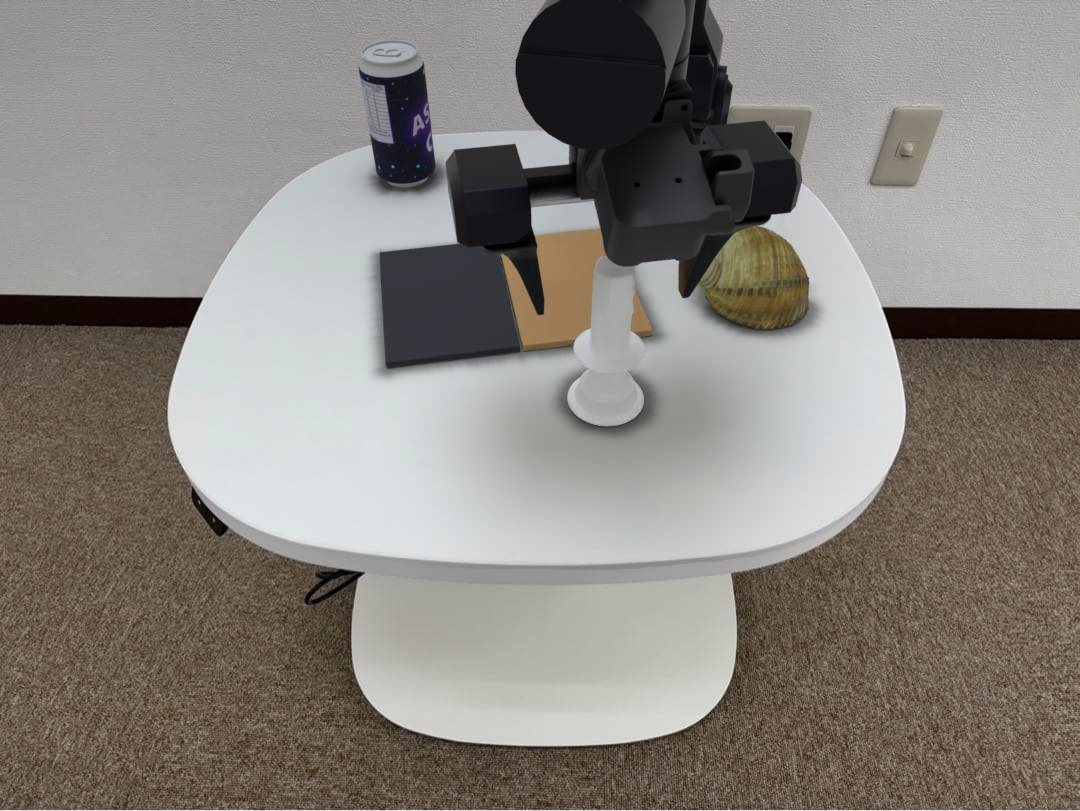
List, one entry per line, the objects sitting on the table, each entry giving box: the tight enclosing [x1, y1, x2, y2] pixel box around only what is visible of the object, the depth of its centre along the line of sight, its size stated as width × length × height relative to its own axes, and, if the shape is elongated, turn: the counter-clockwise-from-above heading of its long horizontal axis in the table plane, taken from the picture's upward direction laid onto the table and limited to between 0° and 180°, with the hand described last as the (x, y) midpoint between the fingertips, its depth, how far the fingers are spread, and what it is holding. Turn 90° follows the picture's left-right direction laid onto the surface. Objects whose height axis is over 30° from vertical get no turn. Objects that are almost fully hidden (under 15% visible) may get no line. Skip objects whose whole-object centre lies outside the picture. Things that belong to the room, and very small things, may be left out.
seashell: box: [698, 225, 810, 331], centre depth 62 cm, size 10×7×8 cm
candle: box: [566, 256, 646, 427], centre depth 52 cm, size 5×5×12 cm
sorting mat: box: [379, 228, 653, 369], centre depth 64 cm, size 20×14×1 cm
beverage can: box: [358, 39, 437, 189], centre depth 73 cm, size 6×6×12 cm
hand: (612, 302), depth 50 cm, fingers open, 9 cm apart
